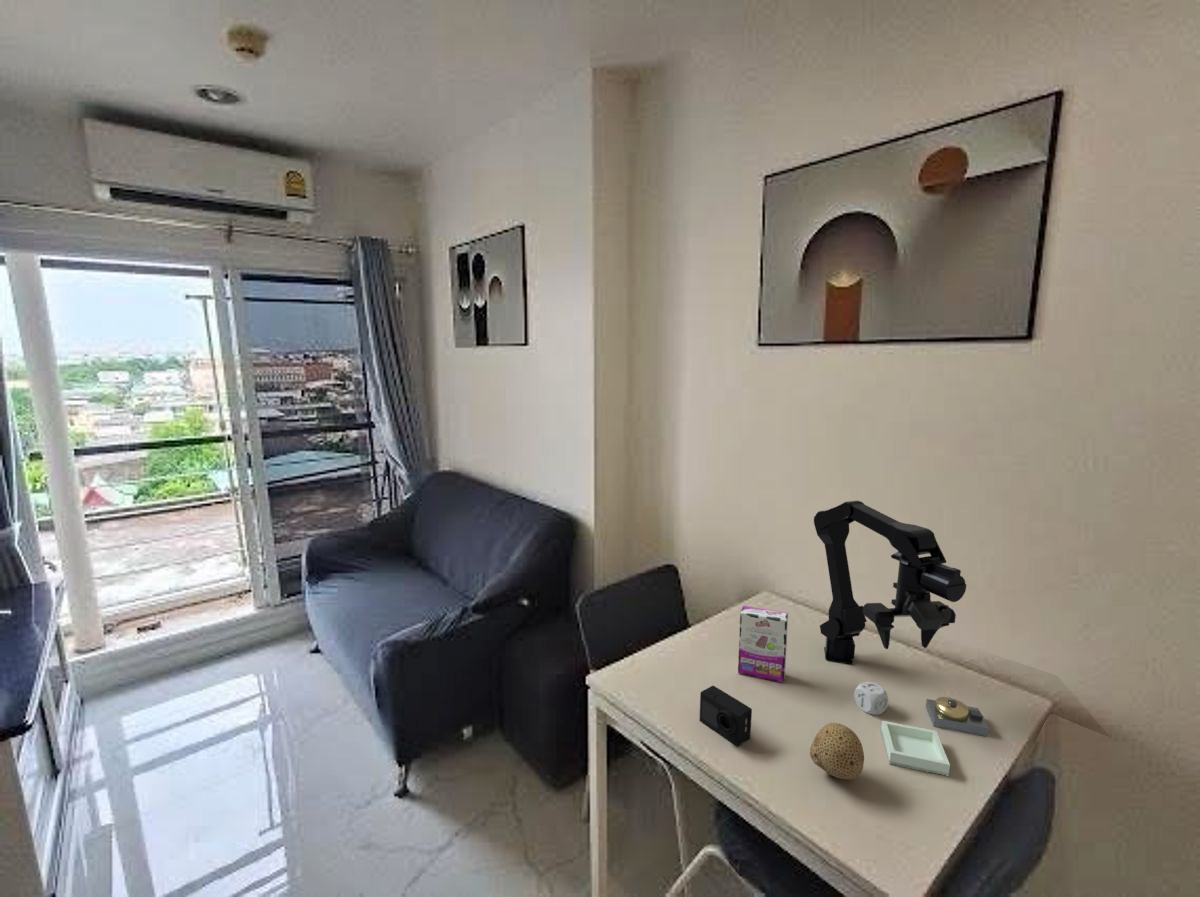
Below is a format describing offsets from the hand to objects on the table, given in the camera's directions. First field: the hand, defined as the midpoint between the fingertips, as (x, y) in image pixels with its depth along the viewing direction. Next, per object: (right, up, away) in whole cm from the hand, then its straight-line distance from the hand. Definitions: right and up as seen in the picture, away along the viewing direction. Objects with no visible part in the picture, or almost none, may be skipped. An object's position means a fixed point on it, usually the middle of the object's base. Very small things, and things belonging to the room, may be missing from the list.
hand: (905, 647), depth 124 cm
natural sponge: (-25, -16, -22) cm, 37 cm away
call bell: (+8, -14, -6) cm, 17 cm away
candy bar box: (-30, -11, +12) cm, 34 cm away
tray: (-7, -15, -16) cm, 23 cm away
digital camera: (-44, -14, -9) cm, 47 cm away
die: (-9, -13, -2) cm, 16 cm away
